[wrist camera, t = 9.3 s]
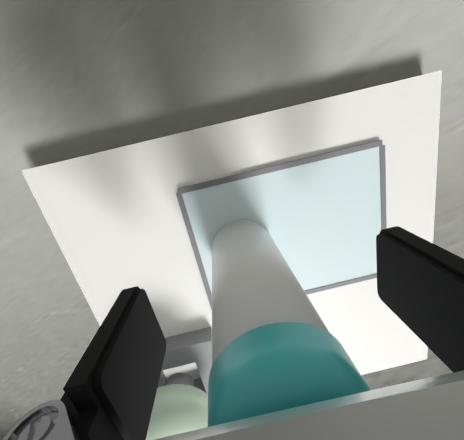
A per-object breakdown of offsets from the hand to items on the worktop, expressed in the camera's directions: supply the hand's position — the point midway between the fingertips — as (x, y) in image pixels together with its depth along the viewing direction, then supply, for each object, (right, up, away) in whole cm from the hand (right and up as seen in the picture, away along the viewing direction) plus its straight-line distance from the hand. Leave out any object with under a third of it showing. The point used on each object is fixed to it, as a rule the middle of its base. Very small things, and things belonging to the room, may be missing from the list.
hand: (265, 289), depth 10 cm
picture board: (+1, -1, +7) cm, 7 cm away
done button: (-5, -8, +6) cm, 11 cm away
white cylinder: (-1, +1, +5) cm, 5 cm away
